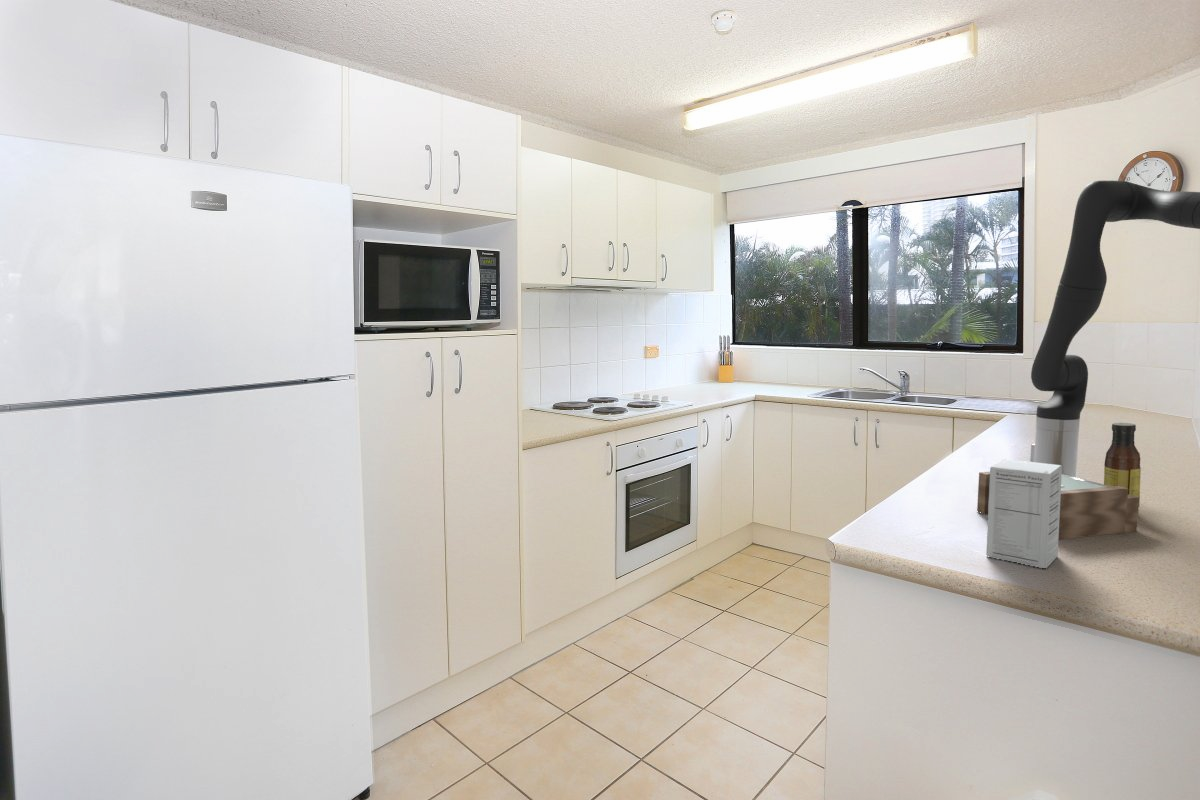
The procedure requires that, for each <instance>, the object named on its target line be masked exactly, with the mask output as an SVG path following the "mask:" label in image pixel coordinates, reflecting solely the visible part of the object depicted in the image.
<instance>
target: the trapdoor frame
mask: <svg viewBox="0 0 1200 800" xmlns="http://www.w3.org/2000/svg"><path fill="white" fill-rule="evenodd" d="M989 485H990V471H983V472H978V485H977V488H978V489H977V507H976V512H977V511H978V512H981V513H983V514H982V515H984V514H985V515H988V504H989ZM1139 509H1140V506H1139V497H1136V496H1132V495H1128V488H1124V487H1120V486H1113V487H1101V488H1088V489H1076V490H1063V491H1061V498H1060V518H1059V538H1058V540H1061V539H1073V538H1074V537H1075V538H1082V537H1083V538H1084V536H1085V537H1095V536H1102V535H1103V536H1105V535H1113V534H1115V535H1116V534H1124V533H1125V534H1126V533H1134V532H1135V531H1136V532H1137V531H1138V530H1137V529H1138V520H1139V519H1138V517H1139V511H1138V510H1139ZM978 512H977V513H978ZM981 513H980V514H981Z"/></svg>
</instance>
